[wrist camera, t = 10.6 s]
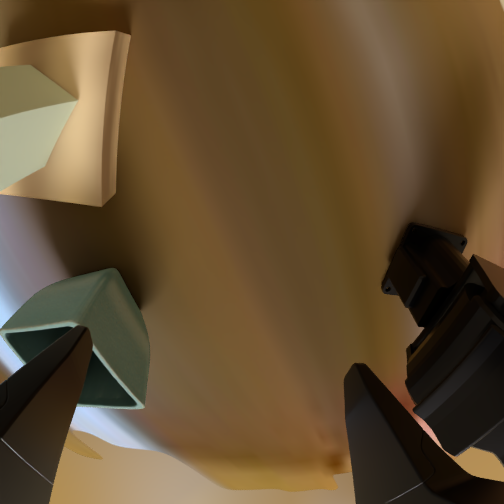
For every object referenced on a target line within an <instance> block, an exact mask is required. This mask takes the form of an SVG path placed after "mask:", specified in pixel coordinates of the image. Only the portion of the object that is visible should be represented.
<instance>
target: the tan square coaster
mask: <svg viewBox="0 0 504 504" xmlns="http://www.w3.org/2000/svg"><path fill="white" fill-rule="evenodd" d="M130 38H131V35H128V34H125V33H122V32H119V31H101V32H89V33H79V34H70V35H63V36H56V37H50V38H44V39H38V40H33V41H28V42H23V43H19V44H14V45H10V46H6V47H2V48H0V67H5V66H18V65H32V66H33V67H34V68H36V69H37V70H38V71H40V72H41V73H42V74H44V75H45V76H46V77H48V78H49V79H50V80H52V81H53V82H54V83H56V84H57V85H58V86H60V87H61V88H62V89H64V90H65V91H66V92H68V93H69V94H70V95H72V96H73V97H74V98H76V99H77V100H78V102H77V104H76V105H75V107H74V109H73V111H72V113H71V114H70V116H69V118H68V120H67V122H66V124H65V126H64V128H63V130H62V132H61V134H60V136H59V138H58V140H57V142H56V144H55V146H54V148H53V150H52V152H51V154H50V156H49V159H48V161H47V163H46V165H45V167H43V168H41V169H39V170H37V171H35V172H34V173H32V174H30V175H28V176H26V177H24V178H23V179H21V180H19V181H17V182H16V183H14V184H12V185H10V186H9V187H7V188H5V189H4V190H2V191H0V194H6V195H14V196H22V197H30V198H38V199H46V200H54V201H61V202H69V203H76V204H84V205H91V206H98V207H102V206H103V205H104V204H105V203H106V202H107V201H108V200H109V199H110V198H111V197H112V196H113V195H114V194H115V193H116V167H117V146H118V131H119V119H120V108H121V99H122V90H123V82H124V75H125V68H126V61H127V55H128V49H129V43H130Z"/></svg>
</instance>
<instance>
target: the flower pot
mask: <svg viewBox="0 0 504 504" xmlns="http://www.w3.org/2000/svg"><path fill="white" fill-rule="evenodd" d="M77 325H82V326H86V327H88V328H89V330H90V333H91V338H92V342H93V350H92V354H91V358H90V361H89V365H88V369H87V373H86V378H85V382H84V386H83V389H82V392H81V395H80V398H79V400H78V403H77V407H97V408H116V409H141V408H145V399H146V390H147V381H148V373H149V363H150V344H149V338H148V333H147V329H146V326H145V323H144V320H143V317H142V314H141V312H140V310H139V308H138V306H137V304H136V303H135V301H134V299H133V297H132V296H131V294H130V292H129V290H128V288H127V286H126V284H125V283H124V281H123V279H122V277H121V275H120V273H119V272H118V270H117V269H116V268H108V269H104V270H100V271H96V272H93V273H88V274H84V275H80V276H76V277H72V278H68V279H65V280H61V281H59V282H56V283H54V284H51V285H49V286H47V287H45V288H43V289H42V290H40V291H39V292H37V293H36V294H34V295H33V296H32V297H31V298H30V299H29V300H28V301H27V302H26V303H25V304H24V305H23V306H22V307H21V308H20V309H19V310H18V311H17V312H16V313H15V314H14V315H13V316H12V317H11V318H10V319H9V320H8V321H7V322H6V323H5V324H4V325H3V326H2V328H1V329H0V335H1V336H2V338H3V339H4V341H5V342H6V343H7V345H8V346H9V347H10V348H11V349H12V351H13V352H14V353H15V354H16V355H17V357H18V358H19V359H20V360H21V361H22V363H23V364H24V365H25V364H27V363H28V362H29V361H30V360H32V359H33V358H34V357H36V356H37V355H38V354H39V353H41V352H42V351H43V350H45V349H46V348H47V347H49V346H50V345H51V344H52V343H54V342H55V341H56V340H58V339H59V338H60V337H62V336H63V335H64V334H66V333H67V332H68V331H70V330H71V329H72V328H74V327H75V326H77Z"/></svg>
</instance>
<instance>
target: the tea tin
mask: <svg viewBox="0 0 504 504" xmlns="http://www.w3.org/2000/svg"><path fill="white" fill-rule="evenodd" d="M77 102H78V100H77V99H76V98H74V97H73V96H72V95H70V94H69V93H68V92H66V91H65V90H64V89H62V88H61V87H60V86H58V85H57V84H56V83H54V82H53V81H52V80H50V79H49V78H48V77H46V76H45V75H44V74H42V73H41V72H40V71H38V70H37V69H36V68H34V67H33V66H32V65H18V66H5V67H0V191H2V190H4V189H5V188H7V187H9V186H10V185H12V184H14V183H16V182H17V181H19V180H21V179H23V178H24V177H26V176H28V175H30V174H32V173H34V172H35V171H37V170H39V169H41V168H43V167H45V165H46V163H47V161H48V159H49V156H50V154H51V152H52V150H53V148H54V146H55V144H56V142H57V140H58V138H59V136H60V134H61V132H62V130H63V128H64V126H65V124H66V122H67V120H68V118H69V116H70V114H71V113H72V111H73V109H74V107H75V105H76V104H77Z"/></svg>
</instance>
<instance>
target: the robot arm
mask: <svg viewBox="0 0 504 504" xmlns="http://www.w3.org/2000/svg"><path fill="white" fill-rule="evenodd" d="M413 228H415V230H414V231H412V230H413ZM461 242H462V243H461ZM466 244H467V239H466V238H465V237H464V236H463V235H459V234H456V233H452V232H449V231H445V230H441V229H438V228H434V227H430V226H426V225H422V224H419V223H410V224H409V225H408V227H407V230H406V232H405V234H404V237H403V239H402V242H401V244H400V246H399V248H398V249H397V252H396V254H395V256H394V259H393V261H392V263H391V265H390V268H389V270H388V272H387V275H386V278H385V280H384V282H383V284H382V286H381V289H382V291H383V293H384V294H390V295H398V296H399V297H400V299H401V301H402V302H403V304H404V306H405V307H406V308H408V309H409V311H410V312H411V314H412V316H413V318H414V320H415V322H416V324H417V325H418V327H424V330H423V331H422V332H421V333H420V335H419V336H418V337H417V338H416V340H415V341H414V342H413V343H412V344H410V345H409V346H408V348H407V349H406V353H407V379H406V380H405V385H406V388H407V390H408V393H409V395H410V396H411V399H412V400H413V402H414V404H415V405H416V406H415V407H414V408H413V412H414V413H415V414H416V415H418V416H419V417H420V418H422V419H423V420H424V421H425V422H426V423H427V424H428V425H429V427H430V428H431V429H432V430H433V432H434V434H435V435H436V437H437V439H438V441H439V442H440V444H441V446H442V448H443V449H444V450H445V451H446V452H448V453H449V454H451V455H453V456H459V455H460V454H462V453H463V452H464V451H466V450H467V449H469V448H470V447H473V448H477V449H480V450H483V451H487V452H490V453H493V454H494V455H495V456H496V457H497V458H498V460H499V461H500V462H501V464H502V465H503V467H504V269H503V268H501V267H499V266H497V265H495V264H493V263H491V262H489V261H487V260H485V259H483V258H481V257H479V256H477V255H475V254H473V255H472V257H471V259H470V260H469V261H468V260H467V259H466V258H465V257H464V256H463V255H462V253H463V251H464V249H465V246H466ZM469 262H470V263H469ZM387 287H389V288H387ZM386 288H387V289H386ZM92 350H93V342H92V338H91V333H90V330H89V328H88V327H86V326H82V325H77V326H75V327H74V328H72V329H71V330H70V331H68V332H67V333H66V334H64V335H63V336H62V337H60V338H59V339H58V340H56V341H55V342H54V343H52V344H51V345H50V346H49V347H47V348H46V349H45V350H43V351H42V352H41V353H39V354H38V355H37V356H36V357H34V358H33V359H32V360H30V361H29V362H28V363H27V364H25V365H24V366H23V367H21V368H20V369H19V370H18V371H16V372H15V373H14V374H13V375H11V376H10V377H9V378H8V379H7V380H5V381H4V382H3V383H1V384H0V504H49V501H50V497H51V492H52V488H53V483H54V479H55V476H56V472H57V468H58V464H59V461H60V457H61V453H62V450H63V447H64V443H65V440H66V437H67V434H68V430H69V427H70V424H71V421H72V418H73V415H74V412H75V409H76V406H77V403H78V400H79V398H80V395H81V392H82V389H83V386H84V382H85V378H86V373H87V369H88V365H89V361H90V358H91V354H92ZM344 399H345V420H346V428H347V435H348V442H349V450H350V457H351V465H352V473H353V482H354V491H355V501H356V504H504V482H501V481H495V480H490V479H484V478H480V477H476V476H473V475H471V474H469V473H467V472H466V471H465V470H463V469H462V468H461V467H460V466H459V465H458V464H457V463H456V462H455V461H454V460H453V459H452V458H451V457H449V456H448V455H447V454H446V453H445V452H444V451H443V450H442V449H441V448H440V447H439V446H438V445H437V444H436V443H435V442H434V441H433V440H432V438H431V437H430V436H429V435H428V434H427V433H426V432H425V431H424V430H423V428H422V427H421V426H420V425H419V424H418V423H417V422H416V420H415V419H414V418H413V417H412V416H411V415H410V414H409V412H408V411H407V410H406V409H405V408H404V407H403V406H402V404H401V403H400V402H399V401H398V400H397V399H396V398H395V397H394V395H393V394H392V393H391V392H390V391H389V390H388V389H387V387H386V386H385V385H384V384H383V383H382V382H381V381H380V380H379V378H378V377H377V376H376V375H375V374H374V373H373V372H372V371H371V369H370V368H369V367H368V366H367V365H366V364H364V363H354V364H353V365H352V366H351V368H350V370H349V371H348V373H347V374H346V376H345V378H344Z"/></svg>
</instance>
